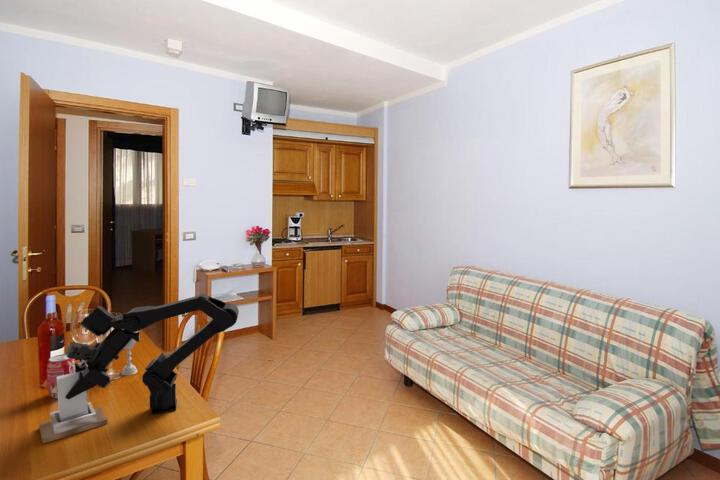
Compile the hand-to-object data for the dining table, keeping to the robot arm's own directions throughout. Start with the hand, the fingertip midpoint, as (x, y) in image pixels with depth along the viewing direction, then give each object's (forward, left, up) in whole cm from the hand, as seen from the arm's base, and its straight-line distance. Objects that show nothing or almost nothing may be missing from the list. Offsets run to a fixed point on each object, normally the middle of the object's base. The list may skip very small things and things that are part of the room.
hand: (66, 396), depth 106 cm
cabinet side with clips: (-1, 0, -9) cm, 9 cm away
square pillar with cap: (-1, 0, -7) cm, 7 cm away
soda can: (+7, -22, -9) cm, 25 cm away
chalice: (-10, -33, -9) cm, 36 cm away
